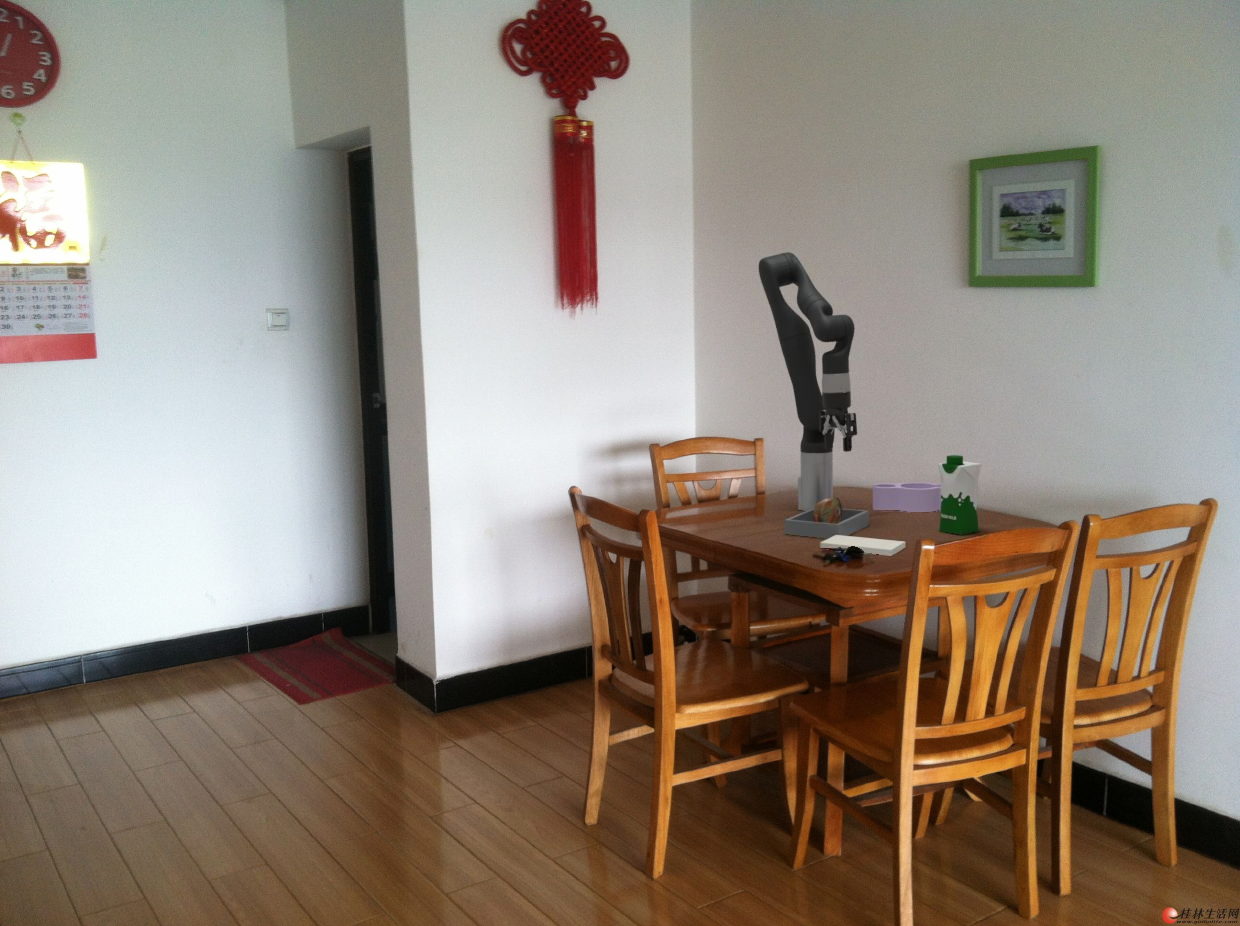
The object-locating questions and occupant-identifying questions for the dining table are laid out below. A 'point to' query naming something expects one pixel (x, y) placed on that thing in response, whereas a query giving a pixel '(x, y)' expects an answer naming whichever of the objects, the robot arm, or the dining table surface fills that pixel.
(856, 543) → the cream board
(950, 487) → the milk carton
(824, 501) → the tin
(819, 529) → the bin
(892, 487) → the clip
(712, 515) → the dining table surface
